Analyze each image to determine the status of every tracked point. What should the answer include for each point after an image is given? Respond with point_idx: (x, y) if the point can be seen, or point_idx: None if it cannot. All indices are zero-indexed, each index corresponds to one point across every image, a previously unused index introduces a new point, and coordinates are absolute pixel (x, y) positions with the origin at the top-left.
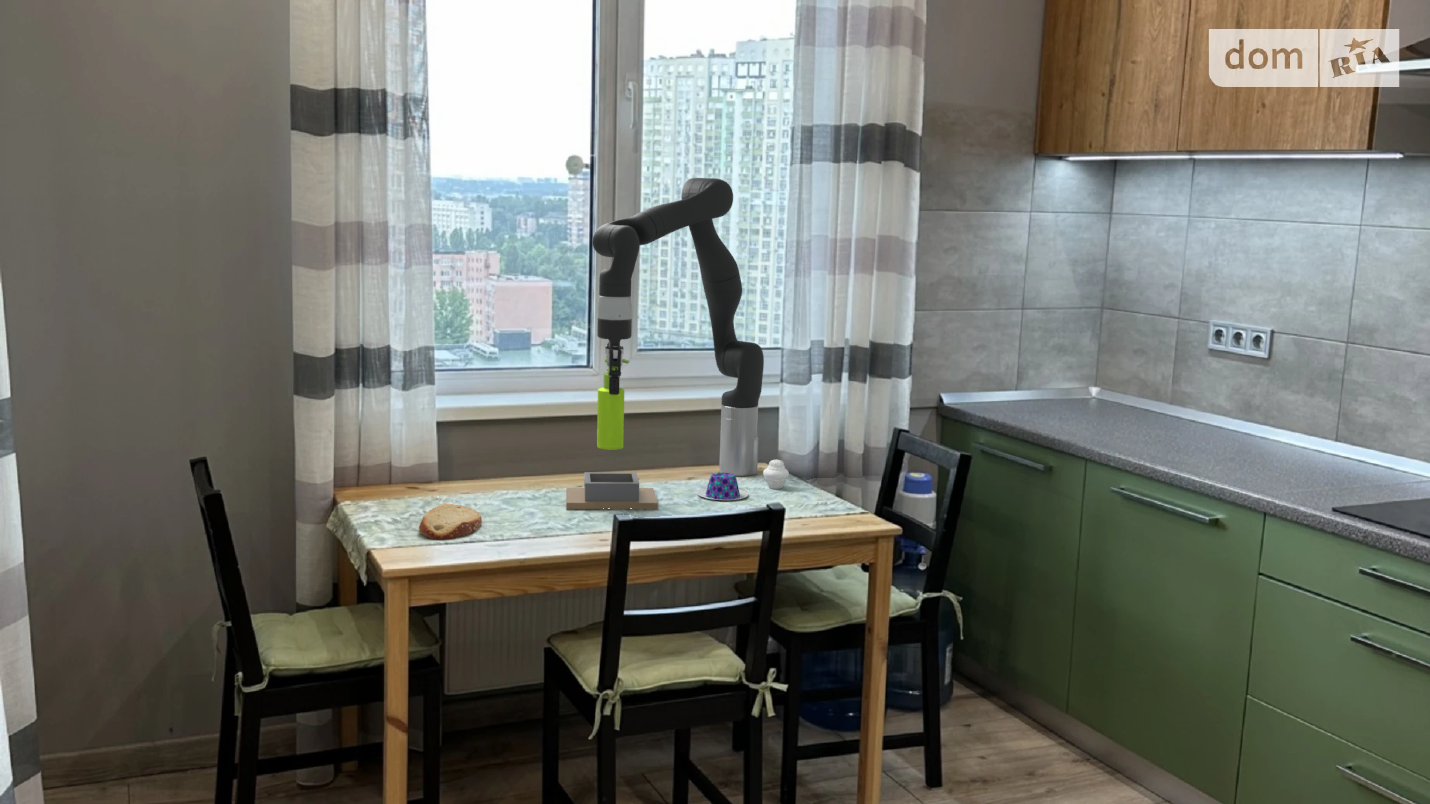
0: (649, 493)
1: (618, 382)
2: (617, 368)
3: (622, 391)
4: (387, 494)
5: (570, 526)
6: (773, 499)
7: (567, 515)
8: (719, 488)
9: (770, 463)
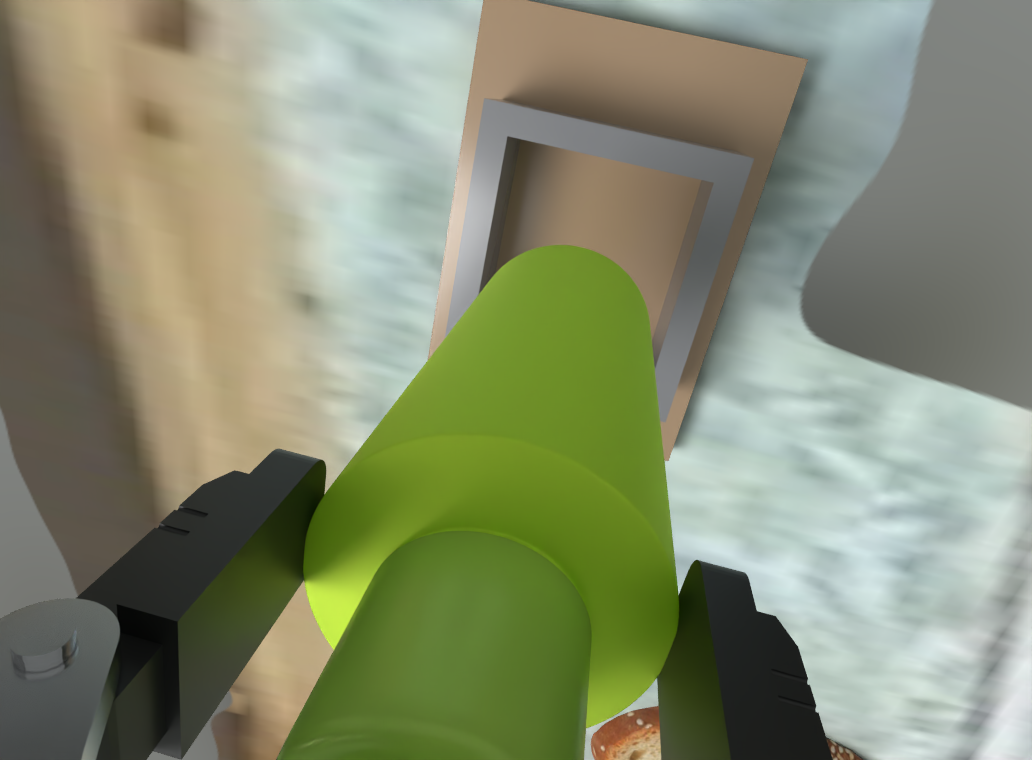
0: (599, 48)
1: (771, 726)
2: (93, 737)
3: (626, 494)
4: None
5: (918, 497)
6: None
7: (753, 465)
8: None
9: None
